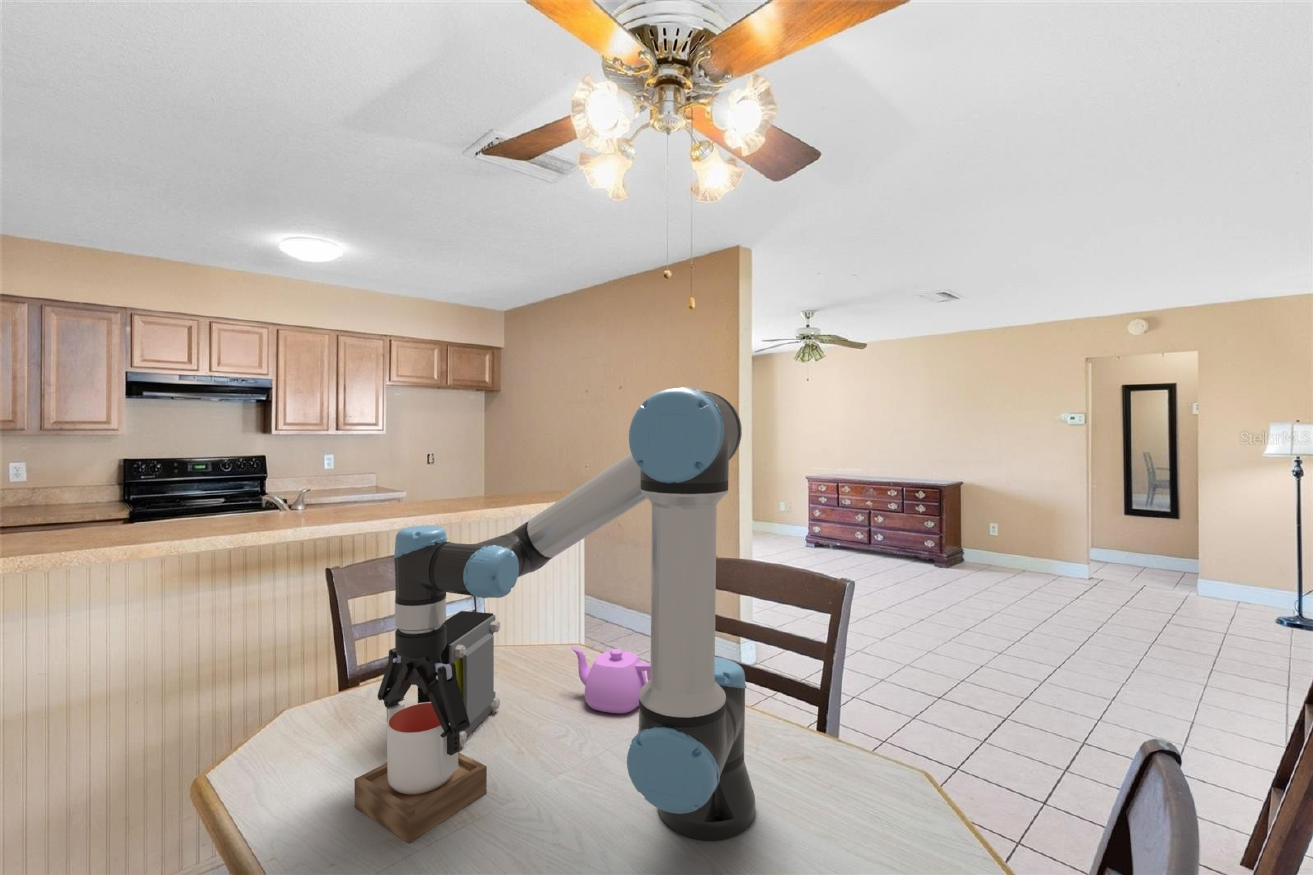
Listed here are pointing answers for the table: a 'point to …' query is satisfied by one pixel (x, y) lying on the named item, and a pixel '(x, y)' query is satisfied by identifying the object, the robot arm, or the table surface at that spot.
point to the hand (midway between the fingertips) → (421, 758)
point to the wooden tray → (419, 799)
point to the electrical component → (471, 664)
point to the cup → (414, 750)
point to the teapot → (613, 680)
